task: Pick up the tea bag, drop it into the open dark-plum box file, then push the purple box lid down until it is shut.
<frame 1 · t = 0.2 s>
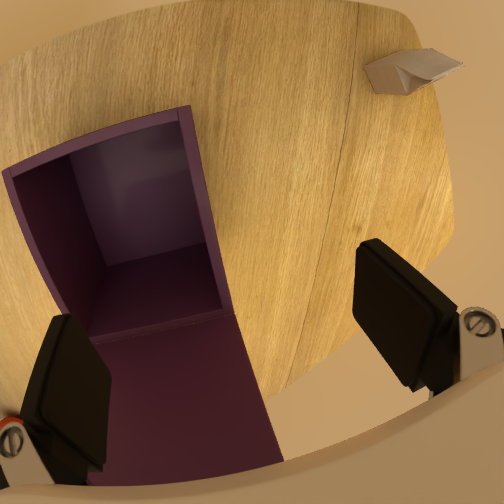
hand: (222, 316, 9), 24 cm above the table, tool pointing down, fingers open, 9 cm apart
tomato: (21, 420, 43), on the table
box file: (138, 193, 30), on the table
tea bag: (387, 70, 29), on the table
purple box lid: (143, 412, 15), point 21 cm above the table, hinge at 80.0°
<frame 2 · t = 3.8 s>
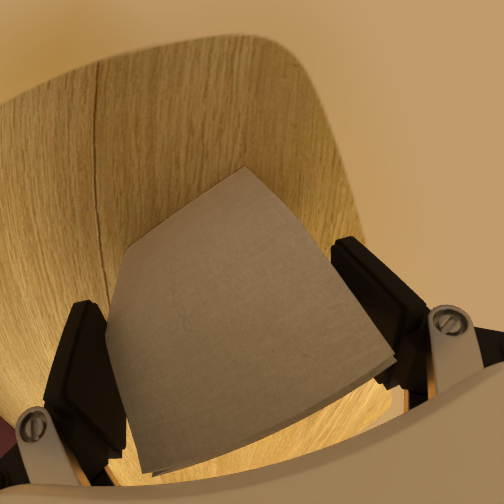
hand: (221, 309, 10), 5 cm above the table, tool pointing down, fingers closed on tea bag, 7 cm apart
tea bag: (204, 236, 14), on the table, touching gripper
when the fingers open (15 cm above the table, at t = 11.3 s): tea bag drops 9 cm, resting on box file.
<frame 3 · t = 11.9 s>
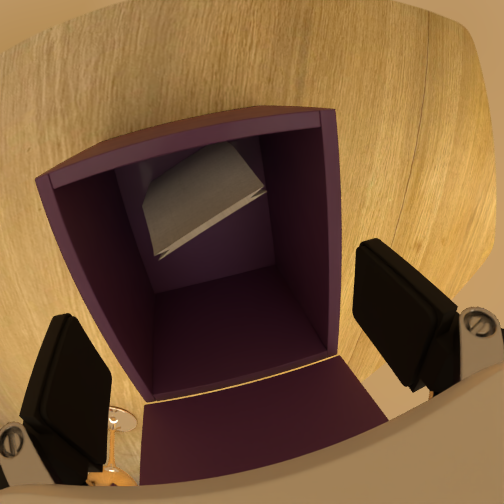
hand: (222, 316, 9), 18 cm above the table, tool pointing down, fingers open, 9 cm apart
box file: (198, 207, 26), on the table
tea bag: (196, 177, 24), point 1 cm above the table, touching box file
wineglass: (113, 417, 37), on the table
purple box lid: (275, 493, 11), point 21 cm above the table, hinge at 80.0°
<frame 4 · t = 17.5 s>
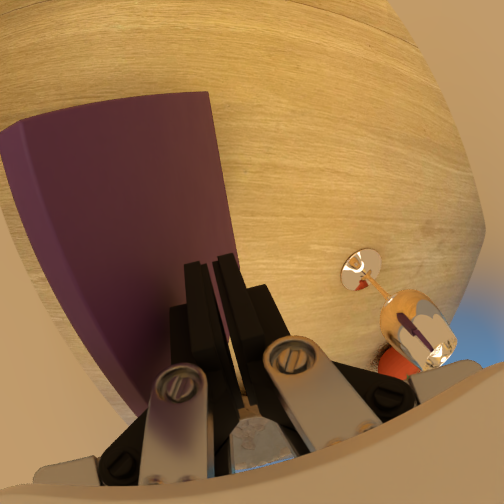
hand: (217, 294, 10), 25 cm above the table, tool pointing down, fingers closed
tomato: (388, 351, 59), on the table
ceramic bowl: (240, 407, 56), on the table
wineglass: (360, 269, 45), on the table
purple box lid: (193, 243, 14), point 21 cm above the table, hinge at 73.5°, touching gripper
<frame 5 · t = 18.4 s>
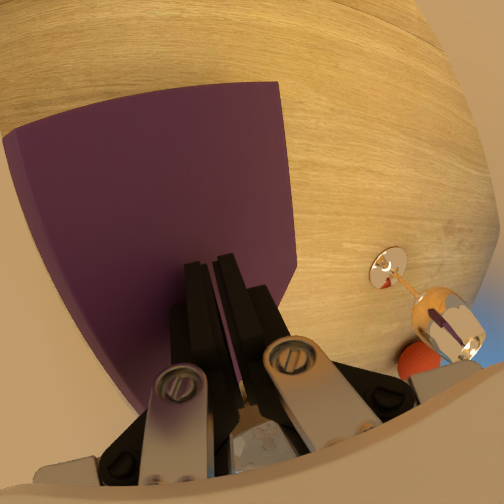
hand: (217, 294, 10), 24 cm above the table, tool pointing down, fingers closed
tomato: (407, 349, 58), on the table
ceramic bowl: (262, 407, 55), on the table
wineglass: (387, 267, 45), on the table
purple box lid: (233, 238, 14), point 20 cm above the table, hinge at 54.8°, touching gripper
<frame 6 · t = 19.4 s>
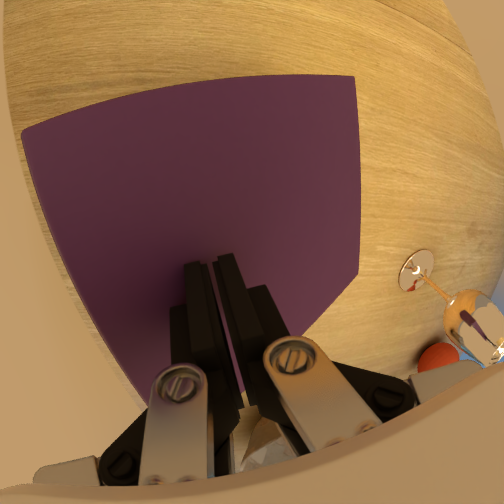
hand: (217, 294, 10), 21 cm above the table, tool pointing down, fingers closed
tomato: (426, 350, 56), on the table
ceramic bowl: (284, 413, 53), on the table
wineglass: (415, 269, 43), on the table
purple box lid: (275, 236, 13), point 18 cm above the table, hinge at 33.6°, touching gripper
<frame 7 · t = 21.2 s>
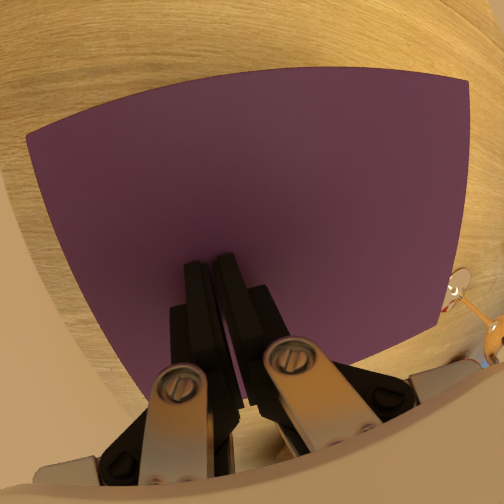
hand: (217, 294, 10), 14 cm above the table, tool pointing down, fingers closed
wineglass: (452, 289, 37), on the table
purple box lid: (310, 261, 11), point 13 cm above the table, hinge at 0.4°
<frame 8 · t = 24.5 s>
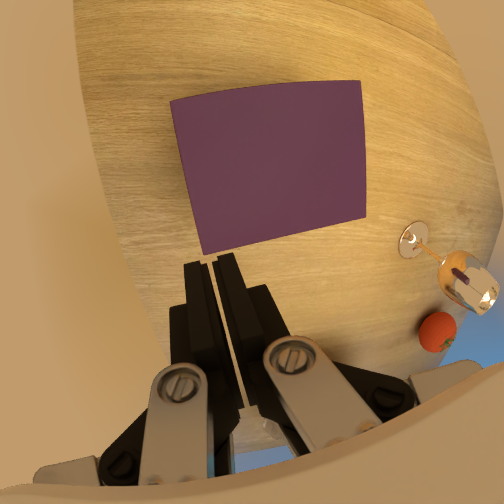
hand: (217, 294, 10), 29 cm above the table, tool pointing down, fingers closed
tomato: (426, 320, 64), on the table
wineglass: (412, 239, 50), on the table
purple box lid: (282, 162, 25), point 13 cm above the table, hinge at 0.0°
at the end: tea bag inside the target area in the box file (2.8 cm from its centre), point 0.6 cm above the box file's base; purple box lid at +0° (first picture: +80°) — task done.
